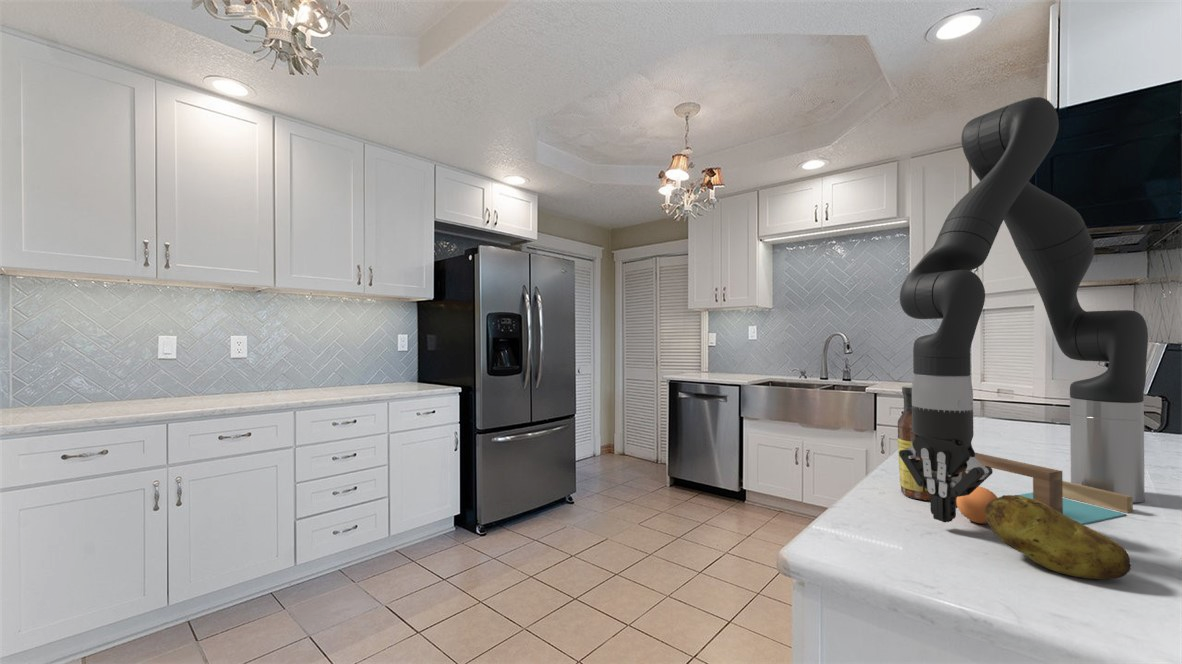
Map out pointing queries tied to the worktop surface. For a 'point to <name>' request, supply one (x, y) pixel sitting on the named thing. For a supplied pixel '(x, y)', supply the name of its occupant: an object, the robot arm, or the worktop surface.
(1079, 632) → the worktop surface
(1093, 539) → the potato
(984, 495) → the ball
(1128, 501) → the stopper strip
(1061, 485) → the bridge
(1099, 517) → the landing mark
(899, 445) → the sauce bottle
